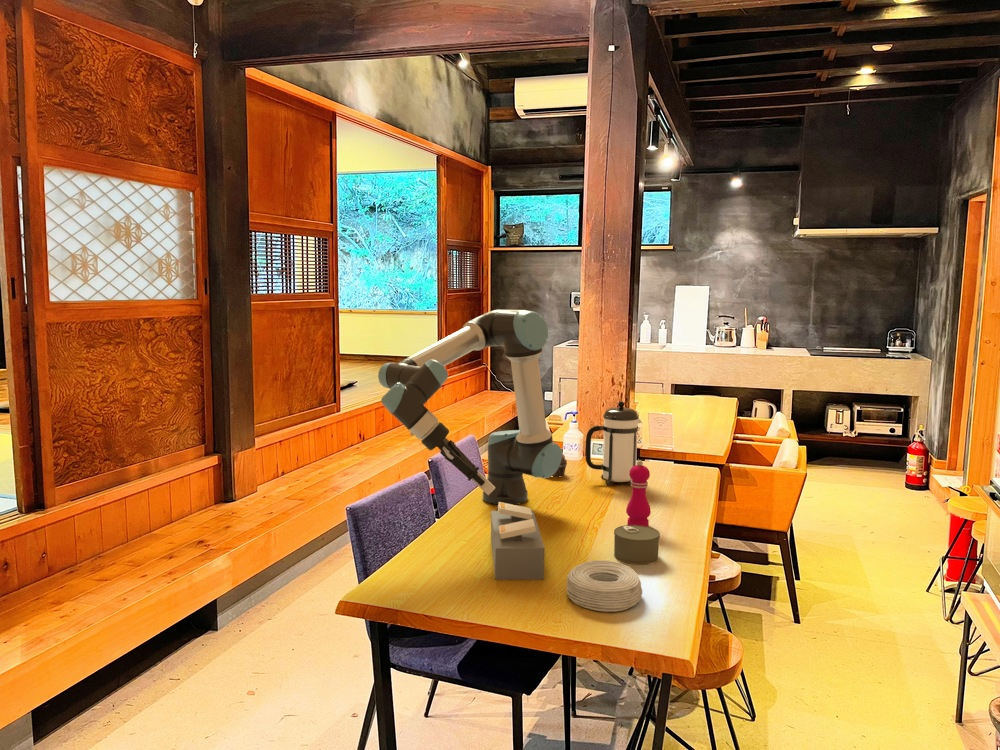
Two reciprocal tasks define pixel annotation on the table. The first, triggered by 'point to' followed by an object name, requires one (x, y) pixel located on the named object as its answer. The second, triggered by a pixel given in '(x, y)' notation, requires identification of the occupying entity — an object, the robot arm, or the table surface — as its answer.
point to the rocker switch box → (516, 551)
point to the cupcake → (561, 467)
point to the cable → (604, 586)
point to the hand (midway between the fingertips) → (491, 491)
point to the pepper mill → (638, 496)
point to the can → (636, 544)
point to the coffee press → (616, 443)
